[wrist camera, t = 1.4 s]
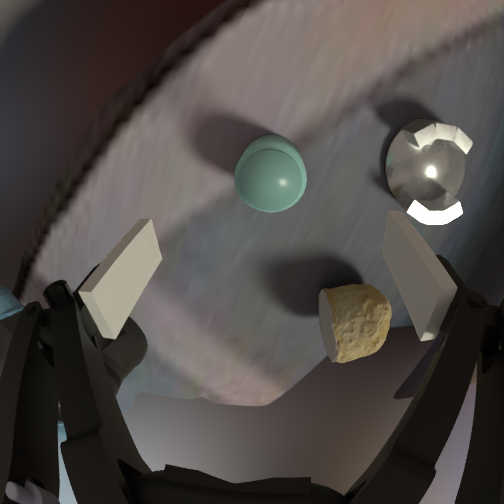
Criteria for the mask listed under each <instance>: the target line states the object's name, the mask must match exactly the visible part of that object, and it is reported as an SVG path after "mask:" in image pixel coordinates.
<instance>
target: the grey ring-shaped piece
mask: <svg viewBox="0 0 504 504" xmlns="http://www.w3.org/2000/svg"><path fill="white" fill-rule="evenodd" d="M399 129H400V130H399V131H398V132H397V133H396V134H395V135H394V137H393V138H392V140H391V142H390V144H389V146H388V149H387V152H386V156H385V177H386V181H387V184H388V186H389V189H390V190H391V192H392V194H393V195H394V197H395V200H396V201H397V202H398V203H399V204H400V205H401V206H402V207H403V209H404V210H405V211H406V212H407V213H409V214H410V215H411V216H413V217H414V218H416V219H417V220H418V221H420V222H421V223H424V224H444V222H445V223H448V222H449V221H451V220H453V219H454V218H456V217H458V216H459V215H461V214H463V213H462V209H461V205H460V202H459V201H458V200H457V199H455V198H454V196H455V195H456V193H457V192H458V190H459V188H460V186H461V184H462V181H463V177H464V172H465V157H464V153H465V154H467V153H468V151H469V149H470V147H471V146H472V144H473V142H472V141H471V140H470V139H469V138H468V137H467V136H466V135H465V134H464V133H463V132H462V131H461V130H460V129H459V128H457V127H456V126H453V125H450V124H446V123H443V122H440V121H435V120H428V119H421V118H420V119H416V120H414V121H412V122H410V123H408V124H406V125H404V126H402V127H400V128H399Z"/></svg>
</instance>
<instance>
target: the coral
mask: <svg viewBox="0 0 504 504" xmlns="http://www.w3.org/2000/svg"><path fill="white" fill-rule="evenodd" d="M318 300H319V319H320V328H321V334H322V338H323V342H324V345H325V348H326V351H327V353H328V355H329V357H330V359H331V361H332V362H339V363H345V362H347V361H351V360H354V359H356V358H359V357H365V356H368V355H370V354H372V353H374V352H376V351H377V350H378V349H379V348H380V347H381V346H382V344H383V342H384V341H385V340H386V335H387V332H388V330H389V326H390V323H389V321H390V318H391V305H390V303H389V301H388V299H387V298H386V297H385V296H384V295H383V294H381V293H380V291H379V290H377V289H376V288H375V287H373V286H372V285H370V284H369V285H366V284H358V285H356V284H350V285H345V286H340V287H336V288H332V289H328V288H323V289H322V290H321V292H320V293H319V296H318Z"/></svg>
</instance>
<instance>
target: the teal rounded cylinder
mask: <svg viewBox="0 0 504 504" xmlns="http://www.w3.org/2000/svg"><path fill="white" fill-rule="evenodd" d="M306 180H307V177H306V171H305V167H304V164H303V161H302V158H301V155H300V152H299V150H298V149H297V147H296V146H295V145H294V144H293V143H292V142H291V141H290V140H288V139H286V138H284V137H282V136H278V135H265V136H261V137H259V138H257V139H255V140H254V141H252V142H251V143H250V144H249V145H248V147H247V148H246V150H245V151H244V153H243V155H242V156H241V158H240V160H239V162H238V163H237V166H236V168H235V173H234V182H235V187H236V190H237V192H238V194H239V195H240V197H241V198H242V199H243V201H244V202H246V203H247V204H248V205H249V206H251V207H253V208H254V209H257V210H259V211H263V212H279V211H283V210H285V209H287V208H289V207H291V206H293V205H294V204H295V203H296V202H297V201H298V200H299V199H300V198H301V196H302V194H303V192H304V190H305V187H306Z"/></svg>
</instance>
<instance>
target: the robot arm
mask: <svg viewBox="0 0 504 504" xmlns="http://www.w3.org/2000/svg"><path fill="white" fill-rule="evenodd" d="M382 256H383V258H384V260H385V262H386V264H387V266H388V268H389V270H390V272H391V274H392V277H393V279H394V281H395V283H396V285H397V287H398V289H399V292H400V294H401V296H402V298H403V300H404V303H405V305H406V307H407V310H408V312H409V314H410V317H411V319H412V321H413V324H414V326H415V329H416V331H417V334H418V336H419V339H420V341H425V340H431V339H435V338H436V336H437V334H438V332H439V330H441V332H442V334H443V337H442V339H441V341H440V343H439V345H438V347H437V349H436V351H435V352H434V353H435V355H434V357H433V360H432V362H431V364H430V366H429V368H428V370H427V372H426V375H425V377H424V379H423V381H422V383H421V385H420V386H419V388H418V390H417V392H416V394H415V396H414V398H413V400H412V401H411V403H410V405H409V407H408V408H407V410H406V412H405V414H404V415H403V417H402V419H401V420H400V422H399V424H398V425H397V427H396V428H395V430H394V431H393V433H392V435H391V436H390V438H389V439H388V441H387V442H386V444H385V445H384V447H383V448H382V449H381V451H380V452H379V454H378V455H377V457H376V458H375V459H374V460H373V462H372V463H371V465H370V466H369V467H368V468H367V470H366V471H365V472H364V473H363V474H362V475H361V477H360V478H359V479H358V480H357V481H356V482H355V483H354V484H353V486H352V487H351V488H350V489H349V490H348V491H347V492H346V493H345V495H344V496H343V495H342V494H341V493H339V492H337V491H335V490H334V489H331V488H329V487H327V486H323V485H320V484H316V483H311V477H301V478H300V477H299V478H268V479H263V480H258V481H251V482H244V483H230V482H228V481H225V480H222V479H219V478H216V477H214V476H211V475H209V474H206V473H203V472H201V471H198V470H193V469H187V468H181V467H177V466H172V465H167V464H166V466H165V469H164V470H160V471H154V472H152V471H151V470H150V468H149V467H148V465H147V464H146V463H145V462H144V461H143V460H142V458H141V456H140V454H139V452H138V450H137V448H136V446H135V444H134V442H133V439H132V437H131V435H130V432H129V430H128V428H127V425H126V423H125V421H124V418H123V416H122V413H121V410H120V408H119V405H118V403H117V400H116V395H117V392H118V390H119V388H120V385H121V383H122V381H123V380H124V379H125V378H126V377H127V375H128V374H129V373H130V372H131V371H132V370H133V369H134V368H135V367H136V366H137V365H138V364H140V363H141V361H142V360H143V358H144V356H145V353H146V351H147V340H146V338H145V335H144V334H143V332H142V331H141V329H140V328H139V327H138V325H137V324H136V323H135V322H134V321H133V320H132V319H131V318H130V317H128V316H129V314H130V313H131V311H132V309H133V307H134V305H135V304H136V302H137V300H138V299H139V297H140V295H141V293H142V292H143V290H144V288H145V287H146V285H147V283H148V282H149V280H150V278H151V277H152V275H153V273H154V272H155V270H156V268H157V267H158V265H159V263H160V262H161V260H162V257H161V253H160V250H159V246H158V242H157V239H156V235H155V231H154V227H153V223H152V219H140V220H139V221H138V222H137V223H136V224H135V225H134V226H133V227H132V229H131V230H130V231H129V232H128V233H127V234H126V235H125V236H124V237H123V238H122V240H121V241H120V242H119V243H118V244H117V245H116V246H115V247H114V249H113V250H112V251H111V252H110V253H109V254H108V255H107V257H106V258H105V259H104V260H103V261H102V262H101V263H100V264H98V265H97V266H96V267H94V268H93V269H92V271H91V272H90V273H89V275H87V277H86V278H85V280H83V282H82V283H81V284H80V285H79V286H78V288H77V289H76V290H75V292H74V293H73V294H72V292H71V290H70V288H69V286H68V284H67V282H66V281H65V280H58V281H55V282H53V283H52V284H50V285H49V286H48V287H47V288H46V289H45V290H44V293H43V295H44V297H45V299H46V301H47V303H48V305H49V306H50V308H48V309H43V308H42V306H41V304H40V302H37V301H35V302H32V303H29V304H28V305H26V306H24V305H21V304H20V302H19V301H18V300H17V299H16V298H15V297H14V295H13V294H12V293H11V292H10V291H9V290H8V289H7V288H5V287H0V504H60V502H59V500H58V499H59V486H60V479H59V460H58V440H60V441H62V442H61V445H60V447H61V453H62V457H63V461H64V464H65V468H66V471H67V475H68V477H69V481H70V484H71V487H72V490H73V492H74V495H75V498H76V501H77V503H78V504H419V502H420V501H421V499H422V498H423V496H424V495H425V493H426V491H427V490H428V488H429V486H430V485H431V483H432V481H433V479H434V477H435V474H436V469H435V464H436V462H437V460H438V458H439V456H440V454H441V452H442V450H443V448H444V446H445V444H446V442H447V440H448V438H449V436H450V433H451V431H452V429H453V427H454V424H455V422H456V419H457V417H458V415H459V412H460V410H461V407H462V404H463V402H464V399H465V396H466V393H467V390H468V387H469V384H470V381H471V378H472V375H473V371H474V368H475V365H476V361H477V385H476V399H475V410H474V418H473V426H472V432H471V438H470V444H469V450H468V454H467V459H466V463H465V468H464V472H463V476H462V480H461V483H460V487H459V490H458V493H457V496H456V500H455V504H504V299H503V300H502V302H501V304H500V306H493V305H488V303H487V301H486V299H485V298H484V297H483V296H482V295H480V294H479V293H477V292H473V291H469V290H468V289H467V287H466V286H465V284H464V283H463V281H462V280H461V278H460V277H459V275H458V274H457V273H456V271H455V270H454V269H453V267H452V266H451V264H450V263H449V262H448V260H446V259H445V258H444V257H442V256H441V255H435V254H434V253H433V251H432V250H431V249H430V247H429V246H428V245H427V243H426V242H425V241H424V239H423V238H422V237H421V236H420V234H419V233H418V232H417V230H416V229H415V228H414V227H413V225H412V224H411V223H410V222H409V221H408V219H407V218H406V217H405V216H404V215H403V213H402V212H401V211H388V216H387V224H386V231H385V237H384V244H383V250H382Z"/></svg>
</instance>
